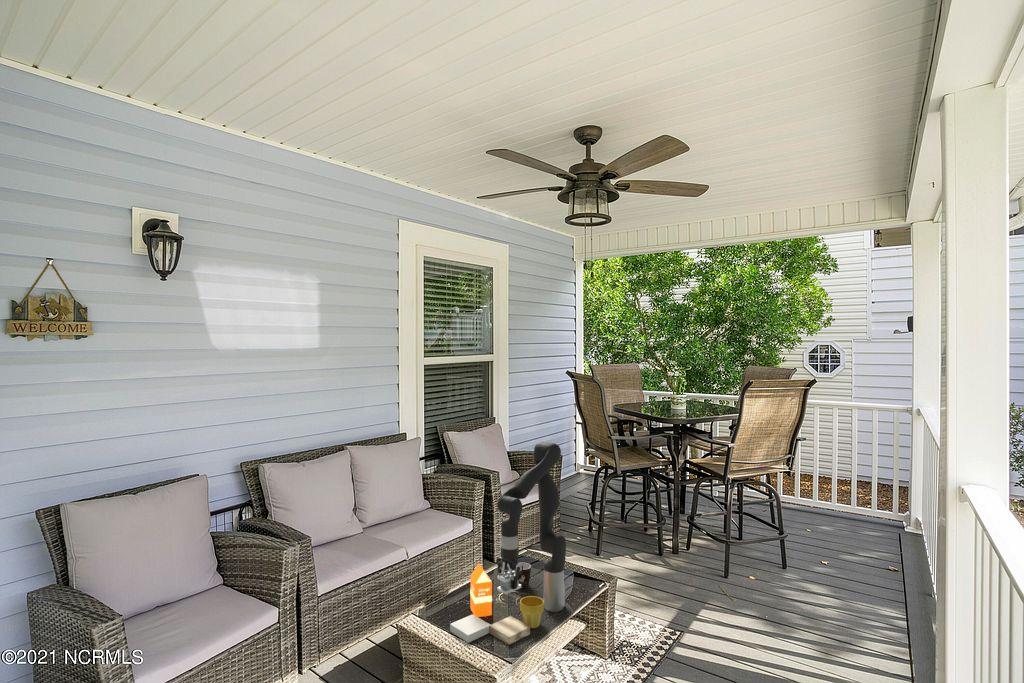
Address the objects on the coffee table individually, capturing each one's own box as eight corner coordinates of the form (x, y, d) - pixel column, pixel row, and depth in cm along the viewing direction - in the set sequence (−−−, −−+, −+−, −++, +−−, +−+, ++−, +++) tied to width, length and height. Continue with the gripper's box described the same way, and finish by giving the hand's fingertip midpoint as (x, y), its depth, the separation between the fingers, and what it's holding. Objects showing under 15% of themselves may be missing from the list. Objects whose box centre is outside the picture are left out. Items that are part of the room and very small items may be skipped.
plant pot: (529, 615, 236) (529, 593, 236) (548, 623, 229) (549, 600, 229) (514, 625, 228) (514, 601, 228) (534, 633, 221) (534, 609, 221)
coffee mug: (534, 585, 266) (534, 565, 266) (525, 591, 259) (525, 571, 259) (514, 579, 272) (514, 559, 272) (505, 586, 265) (505, 565, 265)
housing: (513, 583, 226) (513, 569, 226) (521, 587, 222) (521, 573, 222) (497, 590, 220) (497, 575, 220) (505, 594, 216) (505, 579, 216)
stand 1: (472, 621, 231) (472, 614, 231) (490, 632, 222) (490, 624, 222) (450, 631, 222) (450, 623, 222) (468, 642, 214) (468, 635, 214)
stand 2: (510, 622, 229) (510, 615, 229) (530, 633, 221) (530, 626, 221) (489, 633, 221) (489, 625, 221) (508, 644, 212) (509, 637, 212)
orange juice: (486, 605, 244) (486, 561, 245) (492, 615, 236) (492, 569, 236) (469, 608, 242) (470, 563, 242) (474, 617, 233) (475, 571, 234)
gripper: (528, 547, 219) (528, 589, 219) (504, 538, 229) (504, 578, 229) (515, 552, 213) (514, 595, 213) (491, 542, 224) (491, 583, 224)
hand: (509, 586), depth 221 cm, fingers closed on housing, 5 cm apart
